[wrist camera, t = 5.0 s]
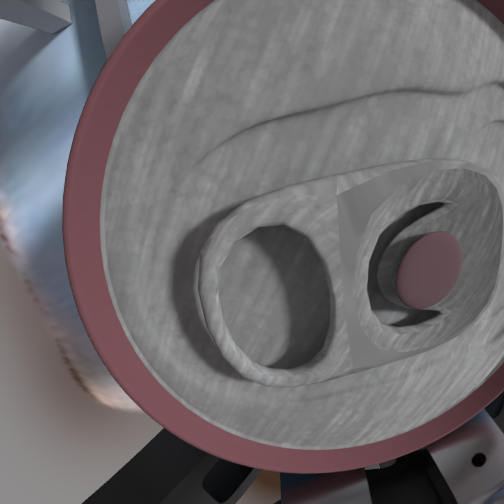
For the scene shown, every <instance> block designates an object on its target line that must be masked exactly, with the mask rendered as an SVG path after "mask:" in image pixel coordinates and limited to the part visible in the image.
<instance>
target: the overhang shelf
mask: <svg viewBox="0 0 504 504" xmlns="http://www.w3.org/2000/svg"><path fill="white" fill-rule="evenodd" d="M95 4H96V10H97V15H98V21H99V26H100V32H101V37H102V42H103V47H104V51H105V56H106V60H108V58H109V57H110V55H111V54H112V52H113V51H114V49H115V48H116V46H117V45H118V43H119V42H120V40H121V39H122V38H123V36H124V35H125V34H126V33H127V31H128V30H129V29H130V28H131V27H132V24H131V20H130V15H129V10H128V5H127V0H95ZM0 19H4V20H7V21H11V22H15V23H18V24H21V25H25V26H28V27H31V28H35V29H38V30H41V31H44V32H47V33H50V34H54V33H55V32H57V31H59V30H61V29H62V28H64V27H66V26H68V25H70V24H72V20H71V13H70V6H69V5H68V4H66V3H64V2H63V1H61V0H0Z"/></svg>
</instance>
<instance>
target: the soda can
mask: <svg viewBox="0 0 504 504" xmlns="http://www.w3.org/2000/svg"><path fill="white" fill-rule="evenodd" d="M63 241H64V252H65V260H66V266H67V271H68V276H69V281H70V286H71V289H72V293H73V296H74V300H75V303H76V306H77V309H78V312H79V315H80V317H81V320H82V322H83V325H84V327H85V329H86V332H87V334H88V336H89V338H90V340H91V342H92V344H93V346H94V348H95V350H96V351H97V353H98V355H99V357H100V358H101V360H102V362H103V363H104V365H105V366H106V368H107V369H108V371H109V372H110V374H111V375H112V376H113V378H114V379H115V380H116V382H117V383H118V384H119V385H120V387H121V388H122V389H123V390H124V391H125V393H126V394H127V395H128V396H129V397H130V398H131V399H132V400H133V401H134V402H135V403H136V404H137V405H138V406H139V407H140V408H141V409H142V410H143V411H144V412H145V413H146V414H148V415H149V416H150V417H151V418H152V419H153V420H155V421H156V422H157V423H158V424H160V425H161V426H162V427H164V428H165V429H167V430H168V431H169V432H171V433H172V434H174V435H175V436H177V437H179V438H180V439H182V440H184V441H185V442H187V443H189V444H191V445H193V446H194V447H196V448H198V449H200V450H202V451H204V452H207V453H209V454H212V455H214V456H216V457H219V458H221V459H224V460H227V461H230V462H233V463H236V464H240V465H244V466H248V467H252V468H257V469H262V470H268V471H275V472H284V473H301V474H310V473H330V472H339V471H347V470H353V469H358V468H363V467H367V466H371V465H375V464H379V463H383V462H386V461H389V460H392V459H395V458H398V457H401V456H403V455H406V454H409V453H411V452H413V451H416V450H418V449H420V448H422V447H424V446H426V445H428V444H430V443H432V442H434V441H436V440H438V439H440V438H442V437H443V436H445V435H447V434H449V433H450V432H452V431H453V430H455V429H457V428H458V427H460V426H461V425H463V424H464V423H465V422H467V421H468V420H470V419H471V418H472V417H474V416H475V415H476V414H478V413H479V412H480V411H481V410H483V409H484V408H485V407H486V406H487V405H489V404H490V403H491V402H492V401H493V400H494V399H495V398H496V397H498V396H499V395H500V394H501V393H502V392H503V391H504V0H156V1H155V2H154V3H153V4H152V5H150V6H149V7H148V8H147V9H146V10H145V12H144V13H143V14H142V15H141V16H140V17H139V18H138V19H137V21H136V22H135V23H134V24H133V25H132V27H131V28H130V29H129V30H128V31H127V33H126V34H125V35H124V36H123V38H122V39H121V40H120V42H119V43H118V45H117V46H116V48H115V49H114V51H113V52H112V54H111V55H110V57H109V58H108V60H107V62H106V63H105V65H104V66H103V68H102V70H101V72H100V74H99V76H98V78H97V80H96V82H95V84H94V86H93V88H92V90H91V92H90V94H89V96H88V98H87V101H86V103H85V106H84V108H83V111H82V114H81V116H80V119H79V122H78V125H77V128H76V131H75V134H74V138H73V142H72V146H71V150H70V154H69V159H68V163H67V170H66V177H65V185H64V194H63Z"/></svg>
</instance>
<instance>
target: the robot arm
mask: <svg viewBox="0 0 504 504" xmlns="http://www.w3.org/2000/svg"><path fill="white" fill-rule="evenodd" d="M379 467H380V469H372V470H365V469H364V467H363V468H358V469H353V470H347V471H339V472H330V473H310V474H301V473H284V472H280V480H281V500H279V501H277V502H276V503H274V504H504V391H503V392H502V393H501V394H500V395H499V396H498V397H496V398H495V399H494V400H493V401H492V402H491V403H490V404H489V405H487V406H486V407H485V408H484V409H483V410H481V411H480V412H479V413H478V414H476V415H475V416H474V417H472V418H471V419H470V420H468V421H467V422H465V423H464V424H463V425H461V426H460V427H458V428H457V429H455V430H453V431H452V432H450V433H449V434H447V435H445V436H443V437H442V438H440V439H438V440H436V441H434V442H432V443H430V444H428V445H426V446H424V447H422V448H420V449H418V450H416V451H413V452H411V453H409V454H406V455H403V456H401V457H398V458H395V459H392V460H389V461H386V462H383V463H379ZM261 471H262V469H257V468H252V467H248V466H244V465H240V464H236V463H233V462H230V461H227V460H224V459H221V458H219V457H216V456H214V455H212V454H209V453H207V452H204V451H202V450H200V449H198V448H196V447H194V446H193V445H191V444H189V443H187V442H185V441H184V440H182V439H180V438H179V437H177V436H175V435H174V434H172V433H171V432H169V431H168V430H167V429H165V428H163V429H162V430H161V431H160V432H159V433H158V434H157V435H156V436H155V437H154V438H153V439H152V440H151V441H150V442H149V443H148V444H147V445H146V446H145V447H144V448H143V449H142V450H141V451H140V452H139V453H137V454H136V455H135V456H134V457H133V458H132V459H131V460H130V461H129V462H128V463H127V464H126V465H125V466H123V467H122V468H121V469H120V470H119V471H118V472H117V473H116V474H115V475H114V476H112V478H110V479H109V480H108V481H107V482H106V483H105V484H104V485H103V486H101V487H100V488H99V489H98V490H97V491H96V492H95V493H93V494H92V495H91V496H90V497H89V498H88V499H86V500H85V501H84V502H83V503H82V504H235V503H236V502H237V501H238V500H239V499H240V498H241V496H242V495H243V494H244V492H245V491H246V490H247V489H248V488H249V486H250V485H251V484H252V483H253V481H254V480H255V479H256V477H257V476H258V475H259V474H260V472H261Z"/></svg>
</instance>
